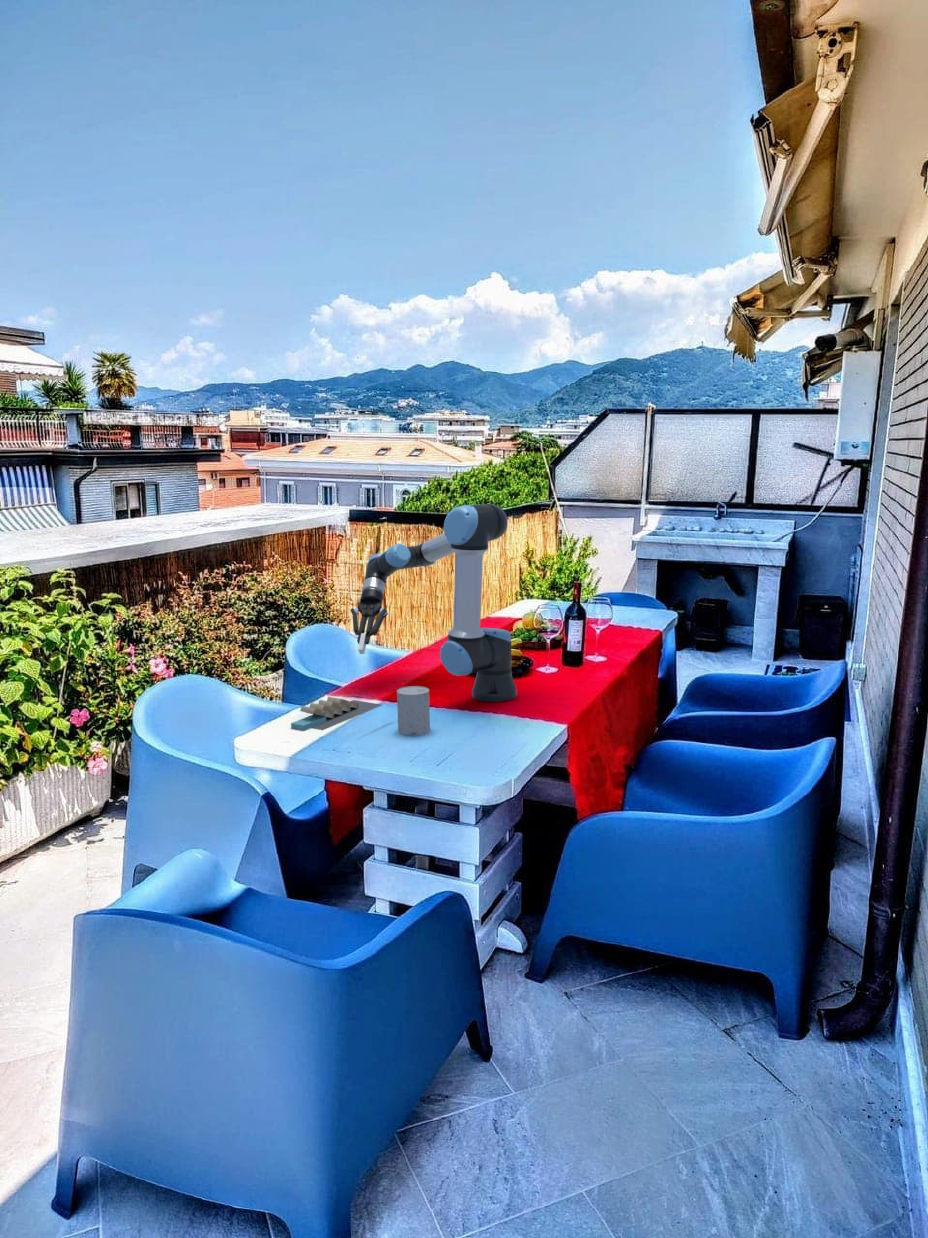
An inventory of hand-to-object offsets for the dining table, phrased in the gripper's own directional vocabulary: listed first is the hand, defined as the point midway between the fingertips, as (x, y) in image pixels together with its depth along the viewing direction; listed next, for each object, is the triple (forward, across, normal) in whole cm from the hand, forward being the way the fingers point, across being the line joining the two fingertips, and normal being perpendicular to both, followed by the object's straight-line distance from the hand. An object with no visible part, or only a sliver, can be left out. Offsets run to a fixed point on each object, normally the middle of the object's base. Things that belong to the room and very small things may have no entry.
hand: (361, 651), depth 280 cm
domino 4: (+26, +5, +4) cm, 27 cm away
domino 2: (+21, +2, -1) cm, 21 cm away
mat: (+25, +3, +1) cm, 25 cm away
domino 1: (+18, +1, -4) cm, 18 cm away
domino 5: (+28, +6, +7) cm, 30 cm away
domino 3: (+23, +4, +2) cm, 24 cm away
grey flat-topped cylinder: (+32, -24, +7) cm, 41 cm away
